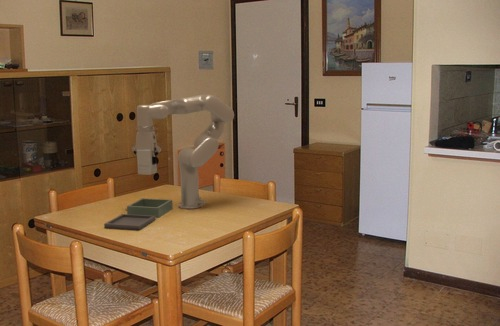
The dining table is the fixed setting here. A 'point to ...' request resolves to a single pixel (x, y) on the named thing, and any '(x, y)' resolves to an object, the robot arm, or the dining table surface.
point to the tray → (130, 222)
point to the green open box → (150, 207)
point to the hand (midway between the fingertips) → (146, 163)
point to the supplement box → (145, 162)
